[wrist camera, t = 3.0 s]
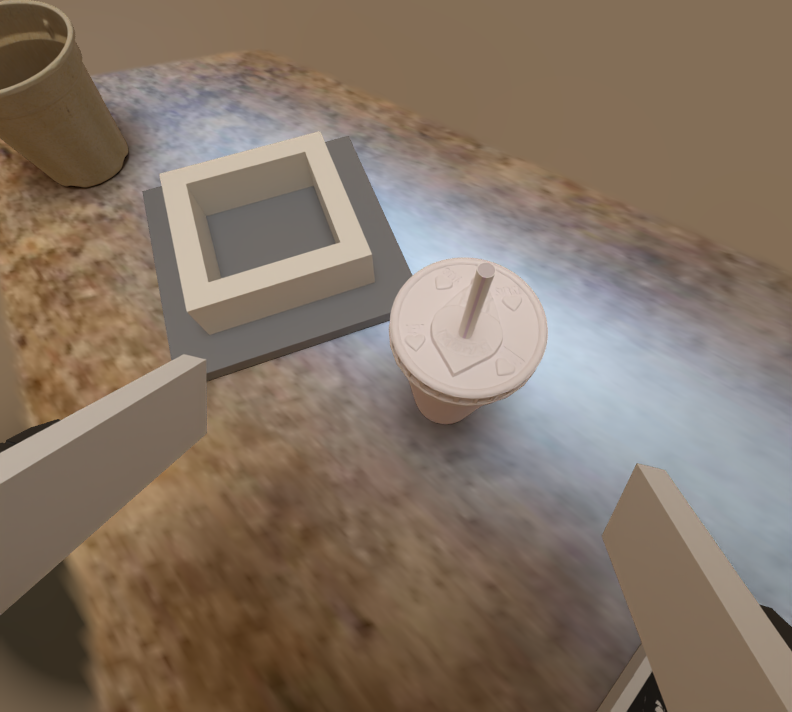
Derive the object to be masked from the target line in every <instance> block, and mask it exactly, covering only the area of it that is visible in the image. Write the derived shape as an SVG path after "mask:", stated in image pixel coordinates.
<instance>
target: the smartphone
mask: <svg viewBox="0 0 792 712" xmlns="http://www.w3.org/2000/svg"><path fill="white" fill-rule="evenodd" d="M618 698H619V699H618ZM597 712H668V711H667V709H666V706H665V703H664V701H663V698H662V695H661V693H660V690H659V687H658V685H657V682H656V679H655V677H654V674H653V671H652V669H651V666H650V663H649V661H648V658H647V655H646V653H645V650H644V647H643V645H642V643H641V645H640V646H639V648H638V649H637V651H636V652H635V654H634V655H633V657H632V658H631V660H630V661H629V663H628V665H627V666H626V668H625V669H624V671H623V672H622V674H621V675H620V677H619V678H618V680H617V681H616V683H615V684H614V686H613V687H612V689H611V690H610V692H609V693H608V695H607V696H606V698H605V699H604V701H603V703H602V704H601V706H600V707H599V709H598V710H597Z"/></svg>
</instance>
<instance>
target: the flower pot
mask: <svg viewBox="0 0 792 712" xmlns="http://www.w3.org/2000/svg"><path fill="white" fill-rule="evenodd" d="M0 138H1V139H2V140H3V141H4V142H6V143H7V144H8V145H10V146H11V147H12V148H13V149H15V150H16V151H17V152H19V153H20V154H21V155H23V156H24V157H25V158H26V159H28V160H29V161H30V162H32V163H33V164H34V165H35V166H37V167H38V168H39V169H40V170H42V171H43V172H44V173H46V174H47V175H48V176H49V177H51V178H52V179H53V180H54V181H56V182H57V183H59V184H61V185H63V186H70V185H72V186H80V187H90V186H94V185H97V184H100V183H102V182H104V181H106V180H108V179H109V178H111V177H113V176H114V175H115V174H116V173H118V172H119V171H120V170H121V168H122V165H123V161H124V158H125V156H126V155H127V154H128V146H127V143H126V141H125V139H124V137H123V136H122V134H121V132H120V130H119V128H118V127H117V125H116V123H115V121H114V119H113V118H112V116H111V114H110V112H109V110H108V108H107V107H106V105H105V103H104V101H103V99H102V97H101V95H100V93H99V92H98V90H97V88H96V86H95V84H94V82H93V81H92V79H91V77H90V75H89V73H88V71H87V70H86V68H85V66H84V64H83V62H82V54H81V51H80V49H79V47H78V45H77V43H76V42H75V30H74V27H73V25H72V23H71V21H70V20H69V18H68V17H67V16H66V15H65V14H64V13H63V12H62V11H61V10H59V9H58V8H56V7H54V6H52V5H49V4H46V3H44V2H38V1H32V0H31V1H30V0H10V1H2V2H0Z"/></svg>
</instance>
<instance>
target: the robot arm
mask: <svg viewBox="0 0 792 712" xmlns="http://www.w3.org/2000/svg"><path fill="white" fill-rule="evenodd" d="M205 434H207V389H206V359H202V358H198V357H194V356H190V355H185V354H183V355H181V356H179V357H178V358H176V359H174V360H172V361H170V362H168V363H166V364H165V365H163V366H161V367H159V368H157V369H155V370H153V371H152V372H150V373H148V374H146V375H144V376H142V377H140V378H139V379H137V380H135V381H133V382H131V383H129V384H127V385H126V386H124V387H122V388H120V389H118V390H116V391H114V392H113V393H111V394H109V395H107V396H105V397H103V398H101V399H100V400H98V401H96V402H94V403H92V404H90V405H88V406H87V407H85V408H83V409H81V410H79V411H77V412H75V413H74V414H72V415H70V416H68V417H66V418H64V419H62V420H59V419H57V420H54V421H51V422H47V423H44V424H41V425H38V426H34V427H31V428H29V429H27V430H25V431H23V432H21V433H19V434H17V435H15V436H13V437H12V438H10V439H8V440H6V443H0V615H1V614H2V613H3V612H4V611H5V610H6V609H8V608H9V607H10V606H11V605H12V604H13V603H14V602H16V601H17V600H18V599H19V598H20V597H21V596H22V595H24V594H25V593H26V592H27V591H28V590H29V589H30V588H31V587H33V586H34V585H35V584H36V583H37V582H38V581H39V580H41V579H42V578H43V577H44V576H45V575H46V574H47V573H48V572H50V571H51V570H52V569H53V568H54V567H55V566H56V565H58V564H59V563H60V562H61V561H62V560H63V559H64V558H66V557H67V556H68V555H69V554H70V553H71V552H72V551H74V550H75V549H76V548H77V547H78V546H79V545H80V544H81V543H83V542H84V541H85V540H86V539H87V538H88V537H89V536H91V535H92V534H93V533H94V532H95V531H96V530H97V529H99V528H100V527H101V526H102V525H103V524H104V523H105V522H106V521H108V520H109V519H110V518H111V517H112V516H113V515H114V514H116V513H117V512H118V511H119V510H120V509H121V508H122V507H124V506H125V505H126V504H127V503H128V502H129V501H130V500H131V499H133V498H134V497H135V496H136V495H137V494H138V493H139V492H141V491H142V490H143V489H144V488H145V487H146V486H147V485H149V484H150V483H151V482H152V481H153V480H154V479H155V478H157V477H158V476H159V475H160V474H161V473H162V472H163V471H164V470H166V469H167V468H168V467H169V466H170V465H171V464H172V463H174V462H175V461H176V460H177V459H178V458H179V457H180V456H182V455H183V454H184V453H185V452H186V451H187V450H188V449H189V448H191V447H192V446H193V445H194V444H195V443H196V442H197V441H199V440H200V439H201V438H202V437H203V436H204V435H205ZM602 538H603V541H604V543H605V546H606V549H607V551H608V554H609V557H610V559H611V562H612V565H613V567H614V570H615V573H616V575H617V578H618V581H619V583H620V586H621V589H622V591H623V594H624V597H625V599H626V602H627V605H628V607H629V610H630V613H631V615H632V618H633V621H634V623H635V626H636V629H637V631H638V634H639V637H640V639H641V642H642V645H643V647H644V650H645V653H646V655H647V658H648V661H649V663H650V666H651V669H652V671H653V674H654V677H655V679H656V682H657V685H658V687H659V690H660V693H661V695H662V698H663V701H664V703H665V706H666V709H667V711H668V712H792V627H791V626H790V625H789V624H788V623H787V622H786V621H785V620H784V619H783V618H782V617H780V616H779V615H778V614H777V613H776V612H775V611H774V610H773V609H772V608H769V607H766V606H762V605H759V604H758V603H757V601H756V600H755V598H754V597H753V595H752V594H751V593H750V591H749V590H748V588H747V587H746V585H745V584H744V583H743V581H742V580H741V578H740V577H739V575H738V574H737V573H736V571H735V570H734V568H733V567H732V565H731V564H730V562H729V561H728V560H727V558H726V557H725V555H724V554H723V552H722V551H721V550H720V548H719V547H718V545H717V544H716V542H715V541H714V540H713V538H712V537H711V535H710V534H709V532H708V531H707V530H706V528H705V527H704V525H703V524H702V522H701V521H700V520H699V518H698V517H697V515H696V514H695V512H694V511H693V510H692V508H691V507H690V505H689V504H688V502H687V501H686V499H685V498H684V497H683V495H682V494H681V492H680V491H679V489H678V488H677V487H676V485H675V484H674V482H673V481H672V479H671V478H670V477H669V475H668V474H667V472H666V471H665V470H662V469H658V468H654V467H650V466H646V465H642V464H636V466H635V468H634V470H633V472H632V474H631V477H630V479H629V481H628V483H627V485H626V487H625V489H624V491H623V493H622V495H621V497H620V499H619V501H618V503H617V506H616V508H615V510H614V512H613V514H612V516H611V518H610V520H609V522H608V524H607V526H606V528H605V530H604V532H603V535H602Z"/></svg>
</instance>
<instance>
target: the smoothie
mask: <svg viewBox="0 0 792 712" xmlns="http://www.w3.org/2000/svg"><path fill="white" fill-rule="evenodd" d="M389 337H390V347H391V350H392V352H393V355H394V358H395V360H396V363H397V365H398V366H399V368H400V369H401V370H402V372H403V373H404V374H405V376H406V377H407V378H408V380H409V383H410V386H411V389H412V392H413V395H414V399H415V402H416V405H417V407H418V409H419V410H420V412H421V413H422V414H423V415H424V416H425V417H426V418H428V419H429V420H431V421H433V422H436V423H439V424H452V423H456V422H458V421H460V420H462V419H464V418H465V417H467V416H468V415H469V414H471V413H472V412H474V411H475V410H477V409H478V408H480V407H481V406H482V405H485V404H490V403H493V402H495V401H498V400H501V399H504V398H507V397H508V396H510V395H511V394H513V393H514V392H515V391H517V390H518V389H520V388H521V387H523V386H524V385H525V383H526V382H527V381H528V379H529V378H530V377H531V376H532V374H533V373H534V372H535V370H536V368H537V366H538V365H539V363H540V361H541V359H542V357H543V355H544V352H545V349H546V345H547V338H548V327H547V320H546V316H545V312H544V309H543V307H542V305H541V303H540V301H539V299H538V297H537V296H536V294H535V293H534V291H533V290H532V289H531V288H530V286H529V285H528V284H527V283H526V282H525V281H524V280H522V279H521V278H520V277H519V276H518V275H516V274H515V273H513V272H512V271H510V270H508V269H507V268H505V267H503V266H501V265H498V264H496V263H493V262H490V261H486V260H482V259H476V258H452V259H446V260H442V261H439V262H436V263H433V264H430V265H428V266H426V267H424V268H423V269H421V270H419V271H418V272H417V273H415V274H414V275H413V276H412V277H411V278H409V279H408V280H407V282H406V283H405V284H404V285H403V286H402V288H401V289H400V291H399V292H398V294H397V296H396V298H395V300H394V303H393V306H392V310H391V315H390V325H389Z"/></svg>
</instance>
